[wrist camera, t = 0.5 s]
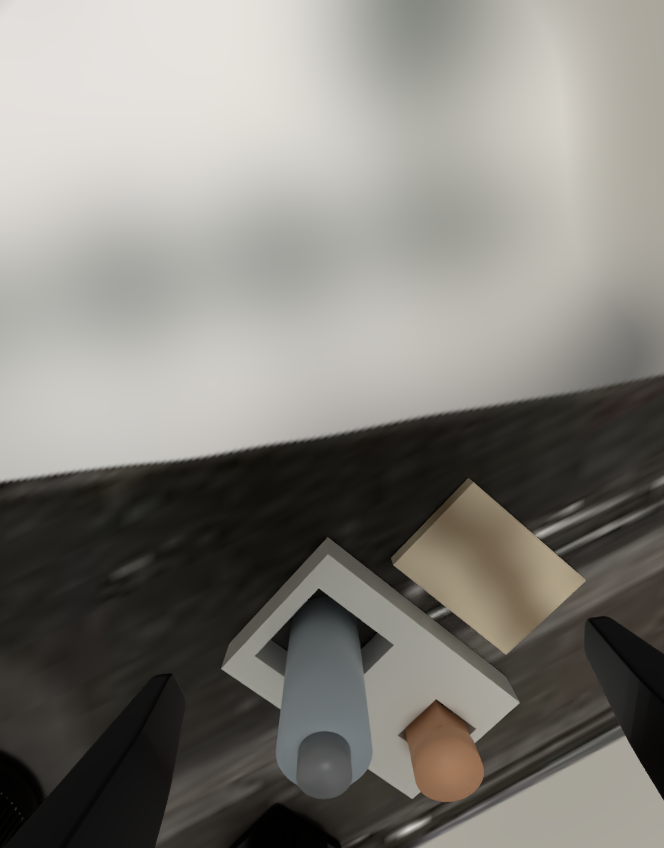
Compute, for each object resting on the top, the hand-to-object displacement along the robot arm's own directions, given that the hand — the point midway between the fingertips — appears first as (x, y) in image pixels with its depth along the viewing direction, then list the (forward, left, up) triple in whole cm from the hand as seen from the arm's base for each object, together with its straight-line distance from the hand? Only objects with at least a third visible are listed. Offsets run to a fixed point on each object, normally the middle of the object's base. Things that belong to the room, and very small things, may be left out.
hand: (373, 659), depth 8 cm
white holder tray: (-9, -11, -15) cm, 21 cm away
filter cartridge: (-9, -7, -15) cm, 19 cm away
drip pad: (+1, -12, -15) cm, 19 cm away
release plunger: (-9, -16, -13) cm, 23 cm away
